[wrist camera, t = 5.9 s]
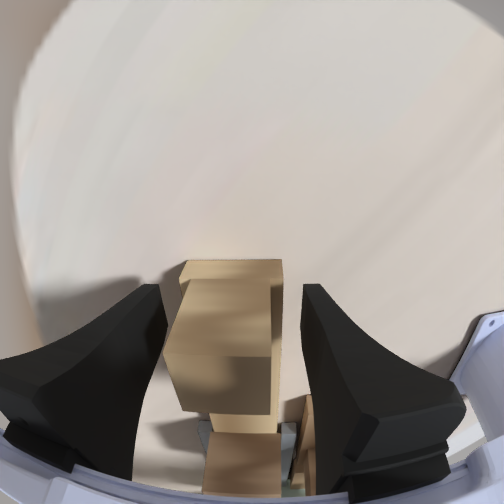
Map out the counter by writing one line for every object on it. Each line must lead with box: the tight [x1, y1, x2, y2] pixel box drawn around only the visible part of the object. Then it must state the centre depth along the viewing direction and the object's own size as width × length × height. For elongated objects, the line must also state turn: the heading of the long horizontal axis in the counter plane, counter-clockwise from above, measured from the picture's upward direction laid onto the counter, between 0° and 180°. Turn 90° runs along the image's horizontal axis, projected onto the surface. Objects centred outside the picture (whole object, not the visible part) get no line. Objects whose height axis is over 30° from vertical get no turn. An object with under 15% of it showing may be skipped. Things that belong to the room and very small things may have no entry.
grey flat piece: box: [198, 420, 305, 489], centre depth 20 cm, size 13×13×2 cm
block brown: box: [296, 395, 316, 496], centre depth 16 cm, size 4×8×6 cm, turn 2°
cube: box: [202, 431, 281, 498], centre depth 15 cm, size 4×4×4 cm
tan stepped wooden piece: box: [163, 259, 283, 433], centre depth 14 cm, size 4×16×6 cm, turn 2°
